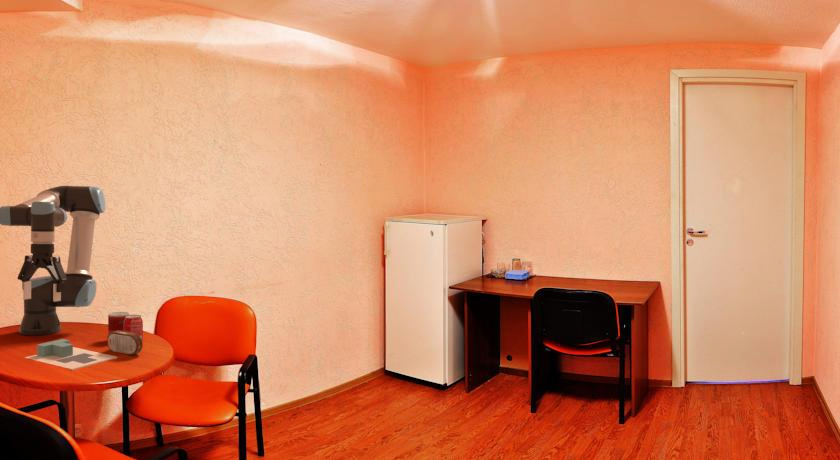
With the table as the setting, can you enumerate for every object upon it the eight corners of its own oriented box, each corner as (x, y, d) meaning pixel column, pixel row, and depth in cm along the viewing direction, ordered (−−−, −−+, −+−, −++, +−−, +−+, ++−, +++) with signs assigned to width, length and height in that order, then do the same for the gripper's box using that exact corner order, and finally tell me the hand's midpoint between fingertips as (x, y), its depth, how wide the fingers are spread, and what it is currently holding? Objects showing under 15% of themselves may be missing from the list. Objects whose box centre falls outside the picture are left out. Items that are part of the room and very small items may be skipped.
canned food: (121, 343, 252) (121, 316, 251) (103, 341, 253) (103, 314, 253) (133, 338, 259) (133, 312, 258) (116, 337, 261) (116, 311, 260)
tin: (143, 355, 237) (143, 333, 236) (136, 357, 234) (136, 335, 233) (112, 350, 242) (112, 328, 241) (105, 352, 239) (105, 330, 238)
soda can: (127, 343, 252) (127, 314, 251) (145, 343, 252) (145, 314, 251) (120, 348, 245) (120, 318, 244) (139, 348, 245) (139, 318, 244)
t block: (62, 349, 239) (62, 338, 238) (80, 353, 234) (80, 342, 234) (37, 355, 230) (36, 344, 229) (54, 359, 225) (54, 348, 225)
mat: (70, 347, 243) (70, 346, 243) (117, 358, 232) (117, 356, 232) (24, 358, 227) (24, 357, 227) (71, 370, 215) (71, 369, 215)
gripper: (6, 242, 231) (6, 299, 232) (62, 244, 225) (61, 303, 225) (24, 241, 239) (23, 296, 239) (78, 243, 232) (77, 300, 233)
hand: (41, 300), depth 232 cm, fingers open, 13 cm apart
